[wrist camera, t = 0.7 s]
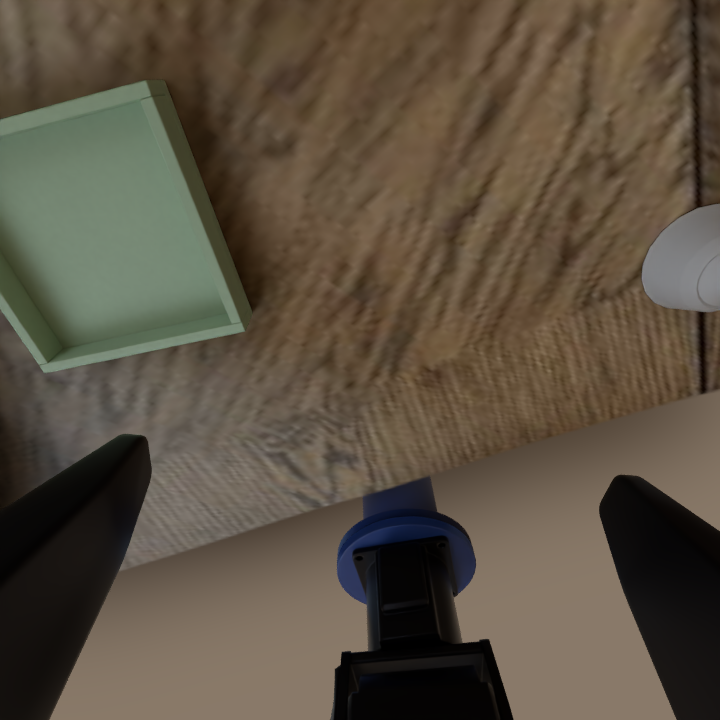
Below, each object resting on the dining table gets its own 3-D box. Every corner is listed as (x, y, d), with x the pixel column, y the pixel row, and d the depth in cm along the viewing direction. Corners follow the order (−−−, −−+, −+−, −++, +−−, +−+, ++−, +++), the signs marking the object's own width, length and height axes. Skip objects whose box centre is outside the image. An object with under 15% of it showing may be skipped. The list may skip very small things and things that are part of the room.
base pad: (253, 313, 23) (245, 331, 21) (65, 353, 24) (44, 373, 22) (164, 79, 18) (145, 79, 16) (-71, 142, 18) (-112, 149, 17)
